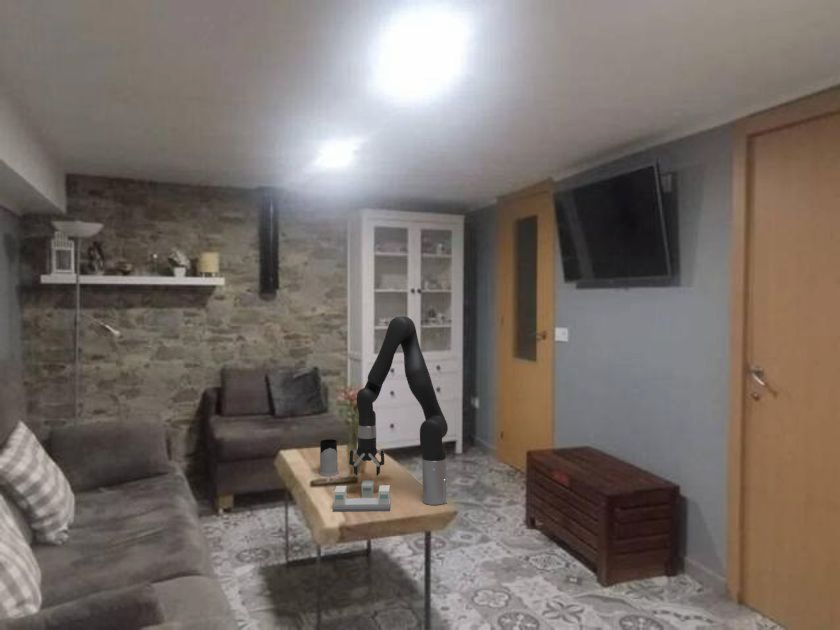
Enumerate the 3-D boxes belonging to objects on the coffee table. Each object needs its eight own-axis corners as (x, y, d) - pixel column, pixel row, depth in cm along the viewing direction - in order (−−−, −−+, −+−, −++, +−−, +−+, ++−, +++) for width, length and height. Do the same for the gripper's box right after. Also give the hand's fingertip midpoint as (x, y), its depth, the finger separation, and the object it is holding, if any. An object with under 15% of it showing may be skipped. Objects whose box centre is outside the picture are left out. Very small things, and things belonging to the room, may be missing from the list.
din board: (391, 500, 238) (390, 483, 237) (389, 511, 226) (389, 493, 225) (336, 500, 237) (336, 484, 237) (332, 511, 225) (332, 494, 225)
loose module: (373, 492, 248) (373, 480, 248) (372, 498, 241) (372, 485, 241) (363, 492, 248) (363, 480, 248) (361, 498, 241) (361, 485, 241)
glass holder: (320, 477, 269) (320, 444, 269) (316, 468, 283) (316, 437, 282) (339, 475, 272) (339, 442, 271) (335, 466, 285) (334, 435, 285)
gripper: (385, 433, 248) (384, 472, 248) (350, 433, 248) (350, 472, 248) (384, 438, 240) (383, 477, 241) (348, 437, 240) (348, 477, 241)
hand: (366, 474), depth 244 cm, fingers open, 8 cm apart
